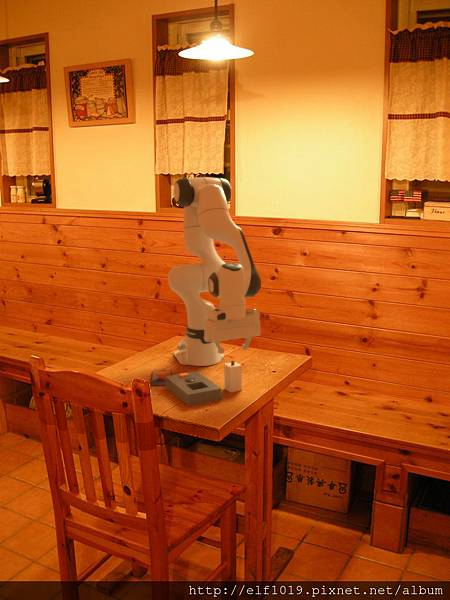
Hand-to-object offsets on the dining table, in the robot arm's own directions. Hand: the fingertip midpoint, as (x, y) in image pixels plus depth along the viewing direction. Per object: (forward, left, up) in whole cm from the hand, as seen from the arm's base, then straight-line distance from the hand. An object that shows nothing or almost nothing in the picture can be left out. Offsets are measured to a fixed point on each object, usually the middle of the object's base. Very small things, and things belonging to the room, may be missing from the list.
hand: (233, 351), depth 213 cm
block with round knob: (-1, 0, -14) cm, 14 cm away
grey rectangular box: (-4, -14, -14) cm, 20 cm away
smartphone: (-23, -18, -15) cm, 32 cm away
